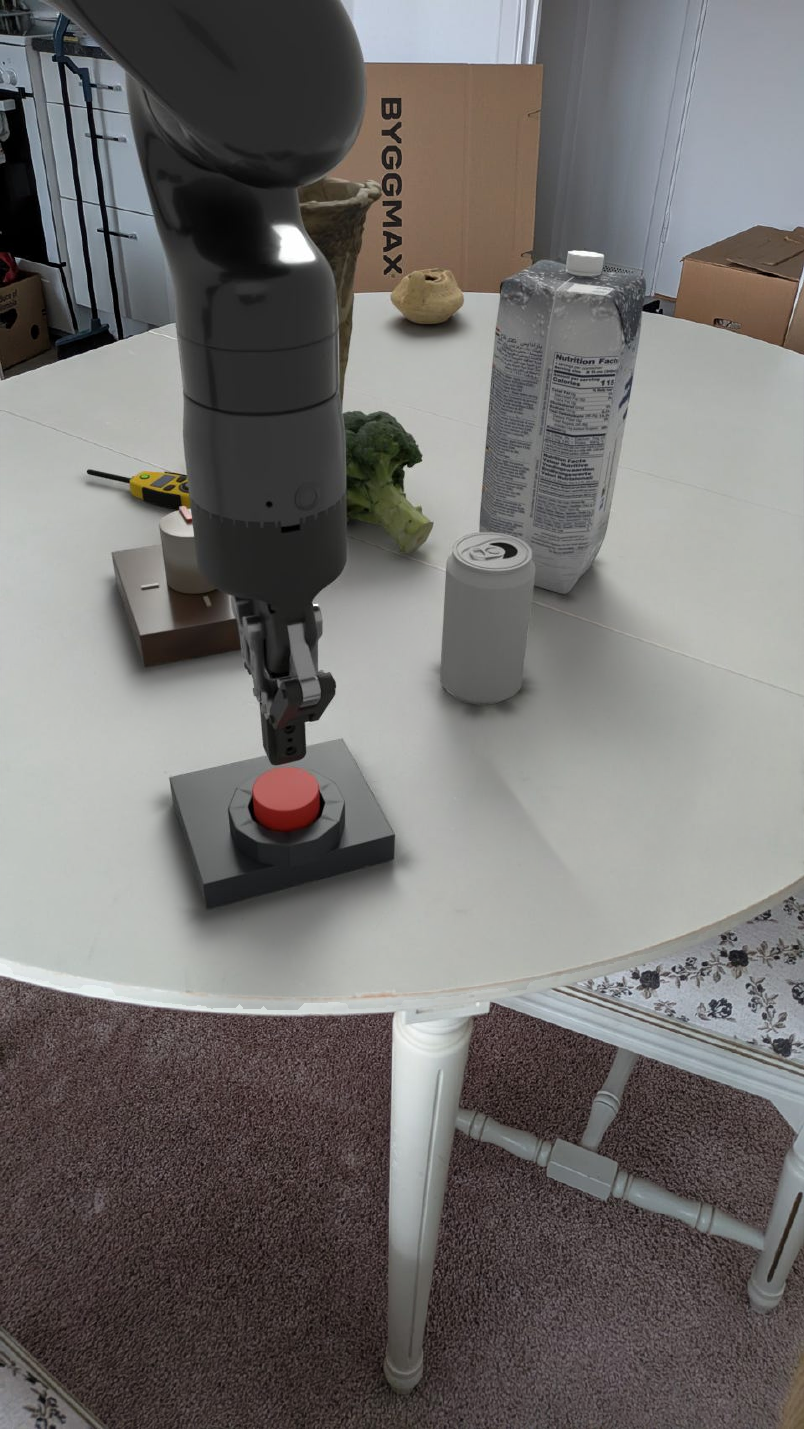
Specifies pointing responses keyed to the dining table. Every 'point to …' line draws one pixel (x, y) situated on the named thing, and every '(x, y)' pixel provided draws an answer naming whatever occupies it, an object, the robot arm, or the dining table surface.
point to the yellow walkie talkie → (155, 487)
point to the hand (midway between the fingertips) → (285, 755)
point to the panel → (171, 611)
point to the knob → (181, 553)
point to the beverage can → (486, 617)
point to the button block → (262, 860)
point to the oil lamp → (428, 296)
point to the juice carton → (559, 409)
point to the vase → (339, 241)
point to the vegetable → (382, 477)
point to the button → (286, 799)
